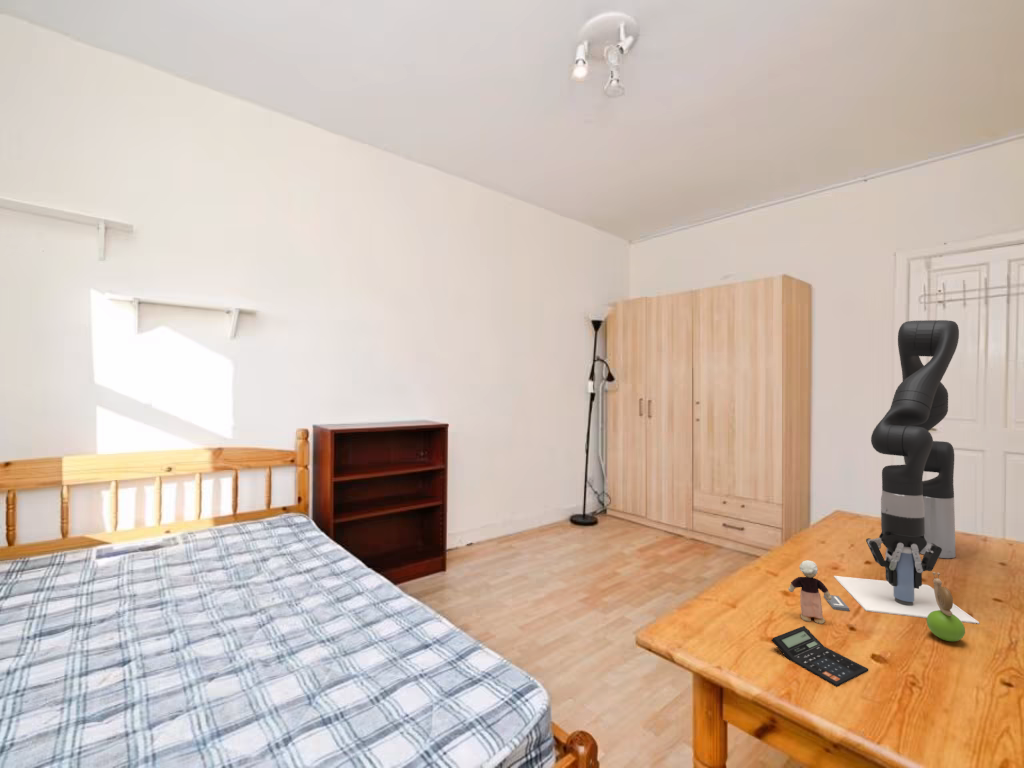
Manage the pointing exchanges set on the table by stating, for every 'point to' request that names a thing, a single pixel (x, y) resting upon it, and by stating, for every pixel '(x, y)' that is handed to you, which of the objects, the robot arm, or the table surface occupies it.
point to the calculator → (817, 657)
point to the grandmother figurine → (810, 592)
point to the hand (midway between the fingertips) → (903, 585)
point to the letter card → (837, 603)
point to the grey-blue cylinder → (905, 578)
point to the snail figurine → (944, 615)
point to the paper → (883, 601)
